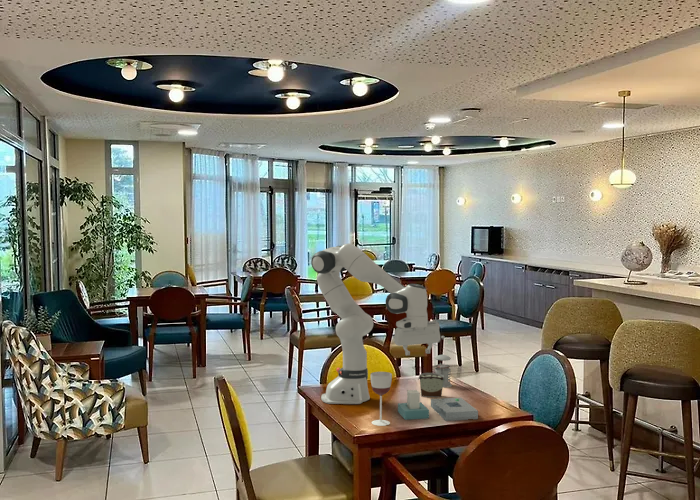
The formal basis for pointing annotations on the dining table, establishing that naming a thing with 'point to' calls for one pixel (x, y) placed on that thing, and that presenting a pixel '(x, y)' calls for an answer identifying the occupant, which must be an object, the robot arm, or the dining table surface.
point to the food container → (431, 384)
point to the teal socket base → (413, 412)
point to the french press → (444, 369)
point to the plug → (413, 399)
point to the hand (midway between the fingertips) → (417, 354)
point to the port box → (454, 409)
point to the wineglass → (381, 391)
